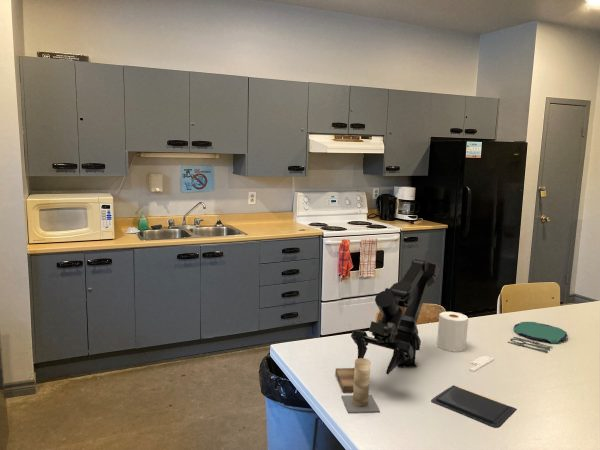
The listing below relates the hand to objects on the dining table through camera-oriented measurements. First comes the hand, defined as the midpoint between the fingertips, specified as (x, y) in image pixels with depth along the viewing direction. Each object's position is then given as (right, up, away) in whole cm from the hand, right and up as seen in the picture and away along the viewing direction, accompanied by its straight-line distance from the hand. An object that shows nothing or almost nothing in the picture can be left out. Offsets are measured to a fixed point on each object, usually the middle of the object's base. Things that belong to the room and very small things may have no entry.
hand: (372, 369), depth 143 cm
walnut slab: (-6, -6, +8) cm, 12 cm away
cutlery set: (+74, -3, +53) cm, 91 cm away
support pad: (-4, -8, -5) cm, 11 cm away
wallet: (+29, -10, -3) cm, 31 cm away
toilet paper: (+36, -3, +40) cm, 54 cm away
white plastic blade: (+40, -6, +26) cm, 48 cm away
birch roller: (-4, -8, -5) cm, 10 cm away
